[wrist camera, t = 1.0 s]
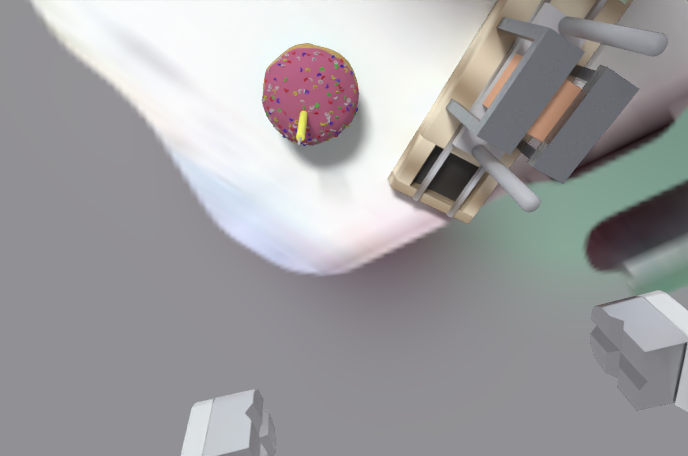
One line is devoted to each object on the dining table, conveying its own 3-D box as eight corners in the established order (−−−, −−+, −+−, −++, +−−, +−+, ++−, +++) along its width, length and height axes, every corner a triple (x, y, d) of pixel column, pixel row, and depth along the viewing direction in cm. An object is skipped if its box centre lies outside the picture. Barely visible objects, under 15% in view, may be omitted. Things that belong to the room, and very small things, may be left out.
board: (582, -137, 37) (604, -145, 35) (662, -67, 40) (689, -70, 38) (387, 178, 50) (393, 190, 47) (461, 213, 53) (470, 226, 50)
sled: (545, 1, 39) (638, 14, 29) (586, 30, 41) (689, 53, 30) (451, 143, 45) (500, 198, 34) (490, 164, 46) (549, 223, 36)
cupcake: (322, 143, 47) (330, 194, 37) (247, 99, 44) (233, 140, 34) (370, 70, 44) (394, 102, 33) (293, 17, 41) (293, 34, 30)
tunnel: (503, 16, 40) (550, 27, 33) (580, 68, 43) (639, 89, 36) (445, 107, 44) (476, 136, 36) (520, 149, 47) (563, 183, 39)
